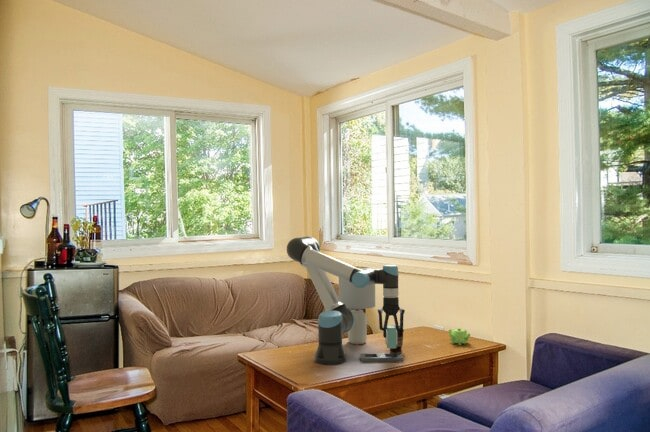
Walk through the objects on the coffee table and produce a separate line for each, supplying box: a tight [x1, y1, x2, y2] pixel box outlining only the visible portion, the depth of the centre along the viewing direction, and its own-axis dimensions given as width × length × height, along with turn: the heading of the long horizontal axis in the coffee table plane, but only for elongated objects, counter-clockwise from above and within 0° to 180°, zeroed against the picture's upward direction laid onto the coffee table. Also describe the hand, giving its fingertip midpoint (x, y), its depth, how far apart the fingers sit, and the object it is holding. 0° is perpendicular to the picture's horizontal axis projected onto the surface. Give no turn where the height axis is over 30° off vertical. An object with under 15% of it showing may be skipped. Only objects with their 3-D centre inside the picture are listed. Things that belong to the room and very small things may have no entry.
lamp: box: [338, 277, 376, 345], centre depth 289 cm, size 20×20×39 cm
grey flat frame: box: [359, 352, 404, 363], centre depth 255 cm, size 20×9×2 cm, turn 93°
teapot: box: [448, 327, 471, 346], centre depth 285 cm, size 11×12×8 cm
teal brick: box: [386, 325, 396, 349], centre depth 255 cm, size 4×4×10 cm
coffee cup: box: [389, 325, 405, 354], centre depth 269 cm, size 9×8×13 cm
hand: (391, 343), depth 255 cm, fingers closed on teal brick, 4 cm apart
